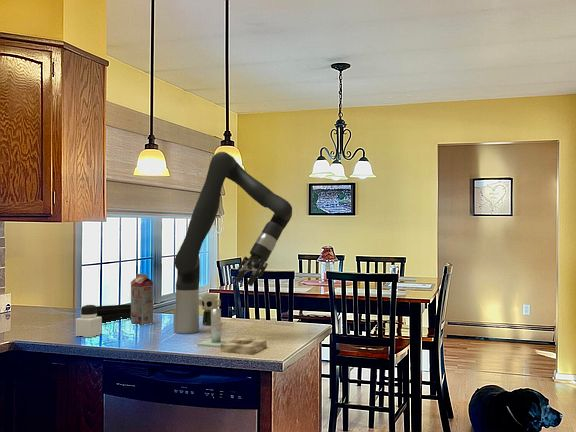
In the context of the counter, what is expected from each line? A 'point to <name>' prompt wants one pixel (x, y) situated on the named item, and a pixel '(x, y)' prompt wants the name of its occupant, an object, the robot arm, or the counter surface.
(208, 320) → the big headed toy figurine
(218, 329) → the peg
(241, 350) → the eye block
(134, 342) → the counter surface
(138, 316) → the juice carton
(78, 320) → the medicine bottle
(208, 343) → the mat
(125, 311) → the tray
